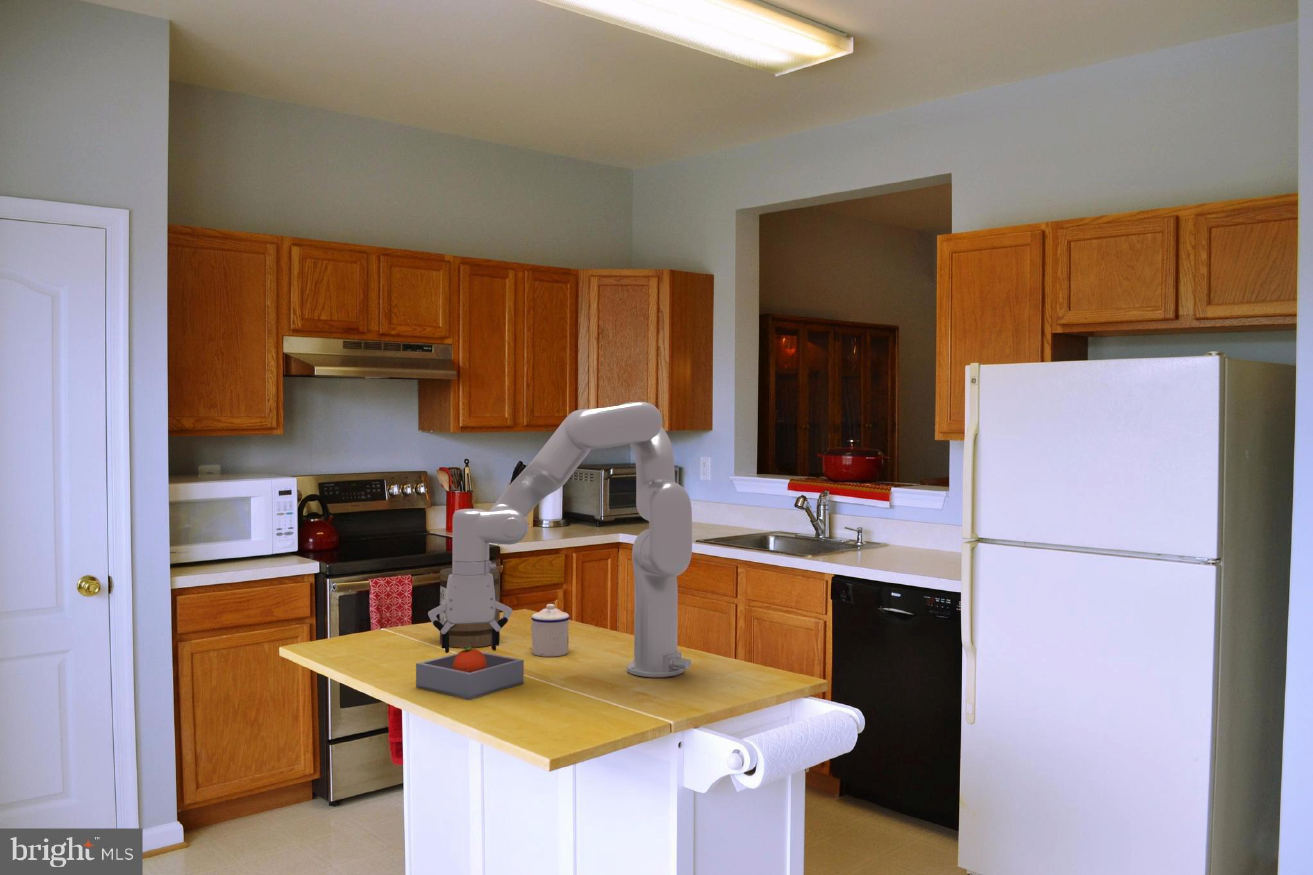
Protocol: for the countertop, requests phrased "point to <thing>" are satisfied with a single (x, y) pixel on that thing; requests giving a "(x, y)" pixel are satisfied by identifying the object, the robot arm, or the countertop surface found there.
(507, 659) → the bin
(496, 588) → the wooden container
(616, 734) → the countertop surface
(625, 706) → the countertop surface
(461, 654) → the clementine
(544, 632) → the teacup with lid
